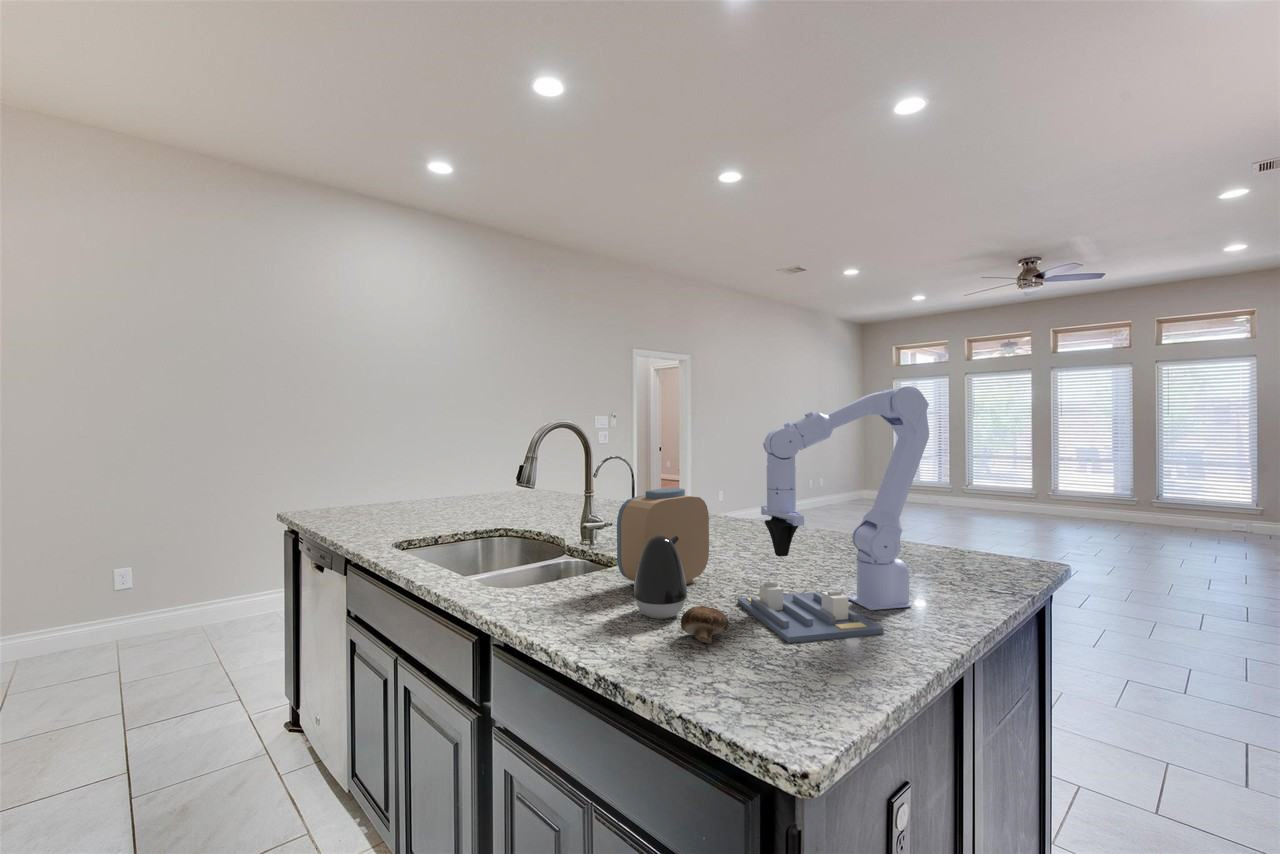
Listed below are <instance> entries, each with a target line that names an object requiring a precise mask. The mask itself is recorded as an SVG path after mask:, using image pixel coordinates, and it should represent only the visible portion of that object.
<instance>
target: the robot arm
mask: <svg viewBox="0 0 1280 854" xmlns="http://www.w3.org/2000/svg"><path fill="white" fill-rule="evenodd" d="M929 405H930V404H929V402H928V400H927V399H926V398H925V396H924V394H923V393H922V392H921V390H919V389H918V388H916V387H915V386H909V385H908V386H902V387H899V388H898V387H897V388H886V389H883V390H881V391H877V392H873V393H870V394H867V395H864V396H862V397H859V398H858V399H856V400H854V401H851V402H850V403H847V404H846V405H844V406H842V407H839V408H838V409H835V410H833V411H831V412H829V413H827V414H824V413H822V412H819V411H818V412H814V413H813V411H809V412H806V413H805V414H804V417H803V418H800V419H799V420H796V421H793V422H791V423H790V422H785V423H783V428H781V429H777V428H776V429H773V430H772V431H769V432H768V433H767V434H766V436H765V438H764V441H763V443H762V445H763V449H764V451H765V453H767V454H766V455H767V456H766V457H767V458H766V462H767V463H766V464H767V465H766V505H760V514H761V515H762V516H768V517H771V518H770V519H766V520H764V525H765V526H766V528H767V530H768V533H769V535H770V538H771V541H772V542H771V543H772V545H773V550H774V553H775V556H777V557H788V556H789V553H790V549H791V544H792V540H793V537H794V535H795V533H796V531H797V529H798V528H799V526H800V527H801V526H803V527H804V526H805V515H804V514H801V513H800V512H799V511H798V510H797V482H796V481H797V477H796V476H797V475H796V472H797V470H796V468H797V467H796V455H797V454H798V453H799V450H800V451H802V450H804V449H807V448H809V447H811V446H814V445H816V444H818V443H821V442H823V441H826V440H827V439H830V438H831V435H832V433H833V430H834V429H837V428H839V427H842V426H844V425H846V424H849V423H853V421H856V420H859V419H861V418H864V417H866V416H869V415H871V416H880V418H882V419H883V420H884V421H886V423H888V425H890V426H891V428H892V429H893V431H894V433H895V434H896V436H897V439H896V443H895V445H894V448H893V451H892V454H891V456H890V459H889V462H888V465H887V467H886V469H885V473H884V475H883V478H882V481H881V484H880V487H879V489H878V492H877V494H876V497H875V500H874V503H873V505H872V508H871V509H870V510H868V511H867V513H866V514H865V515H864V516H863V518H862V520H861V522H860V523H859V524H858V526H856V528H854V530H853V531H852V536H851V539H852V543H853V546H854V548H856V550H857V554H856V595H848V596H847V597H848V600H850V601H852V602H854V603H855V604H857V605H860V606H861V607H862V608H865V609H867V610H869V611H878V610H890V609H900V608H901V609H902V608H911V607H912V603H910V573H909V569H908V567H907V564H906V563H905V562H904V561H903V560H902V559H900V558H897V557H898V556H899V555H900V552H901V547H902V545H901V535H902V533H903V527H902V524H901V521H900V517H901V514H902V513H903V512H902V511H903V509H904V506H905V503H906V501H907V498H908V495H909V492H910V490H911V487H912V485H913V482H914V479H915V476H916V474H917V471H918V468H919V466H920V462H921V460H922V457H923V455H924V452H925V449H926V447H927V444H928V441H929V438H930V428H929V420H928V414H927V411H928V408H929Z"/></svg>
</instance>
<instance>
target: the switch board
mask: <svg viewBox="0 0 1280 854" xmlns="http://www.w3.org/2000/svg"><path fill="white" fill-rule="evenodd" d="M737 604H738V605H739V606H741V607H742V608H743V609H744V610H745V611H747V612H748V613H750V614H751V615H752V616H753V617H755V619H757V620H758V621H759V622H761V623H762V624H763V625H764V626H767V627H768V629H770V630H771V631H772V632H773V633H775V634H776V635H778V637H780V638H782V640H783V641H785V642H786V643H788V644H791V643H792V644H793V643H803V642H812V641H813V642H815V641H823V640H834V639H845V638H854V637H864V636H865V637H866V636H873V635H874V636H877V635H884V627H882V626H881V625H879V624H877V623H876V622H874V621H872V620H870V619H867V618H865V617H864V616H862V615H861V614H858V613H857V612H855V611H853V610H851V609H850V608H848V619H845V620H836V617H835V616H833V615H832V614H830V613H828V612H827V611H825V610H823V609H822V593H820V592H818V591H814V592H811V591H810V592H803V593H802V592H800V593H798V592H797V593H787V594H784V593H783V610H773V609H772V608H770V607H769V606H767V605H766V604H765V603H763V602H762V601H760V595H759V596H748V597H737Z"/></svg>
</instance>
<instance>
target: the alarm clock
mask: <svg viewBox="0 0 1280 854" xmlns="http://www.w3.org/2000/svg"><path fill="white" fill-rule="evenodd" d="M655 536H665V537H667V538H669V539H670V540H671V539H672V538H673V537H675V536H677V537H678V538H679V540H678V541H677V543H676V544H675V547H676V549H677V552H678V554H679V557H680V560H681V563H682V566H683V570H684V575H685V581H686V585H690V584H693V582H694V579H696V578H697V577H699V576H701V575H702V573H703V572H704V571H705V570H706V567H707V565H708V562H709V555H710V516H709V509H708V506H707V503H706V502H705V500H704V499H703V498H702V497H699V496H693V495H691V496H690V495H686V490H685V489H684V488H679V487H670V488H669V487H668V488H658V489H657V488H655V489H652V490H651V489H650V490H647V491H645V495H638V496H634V497H632V498H629V499H627V500H626V501H624V502H623V503H622V505H621V507H620V509H619V510H618V513H617V518H616V559H617V566H618V571H619V572H620V574H621V575H622V577H624V578H626V579H627V580H629V581H632V582H633V584H634V585H635V578H636V572H637V568H638V564H639V561H640V558H641V555H642V552H643V550H644V548H645V546H646V544H647V543H648V541H649V540H650V539H651V538H653V537H655ZM634 585H633V586H634Z"/></svg>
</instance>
